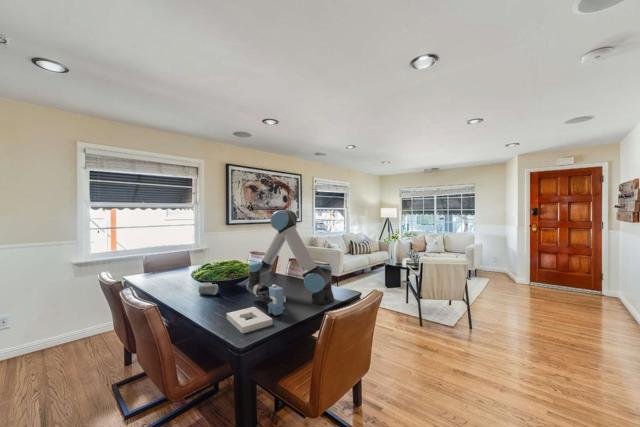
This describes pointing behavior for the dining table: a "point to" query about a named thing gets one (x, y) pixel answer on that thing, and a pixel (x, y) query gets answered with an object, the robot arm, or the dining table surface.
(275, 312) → the servo
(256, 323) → the frame
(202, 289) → the spool
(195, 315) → the dining table surface
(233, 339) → the dining table surface
